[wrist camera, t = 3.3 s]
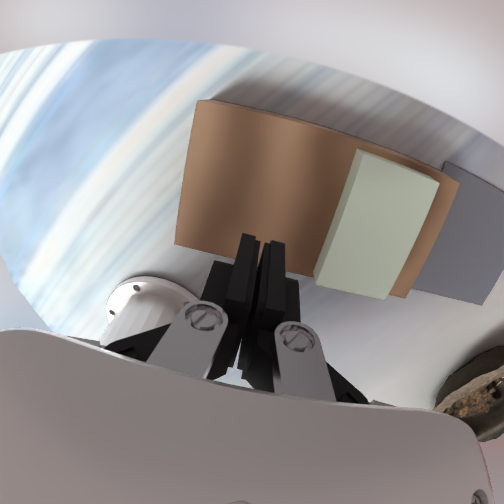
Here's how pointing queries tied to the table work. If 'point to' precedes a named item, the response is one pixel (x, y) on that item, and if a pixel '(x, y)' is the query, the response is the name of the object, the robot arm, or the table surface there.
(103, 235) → the table surface
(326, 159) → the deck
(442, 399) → the stone bowl
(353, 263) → the pale green prism
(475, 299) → the mat
